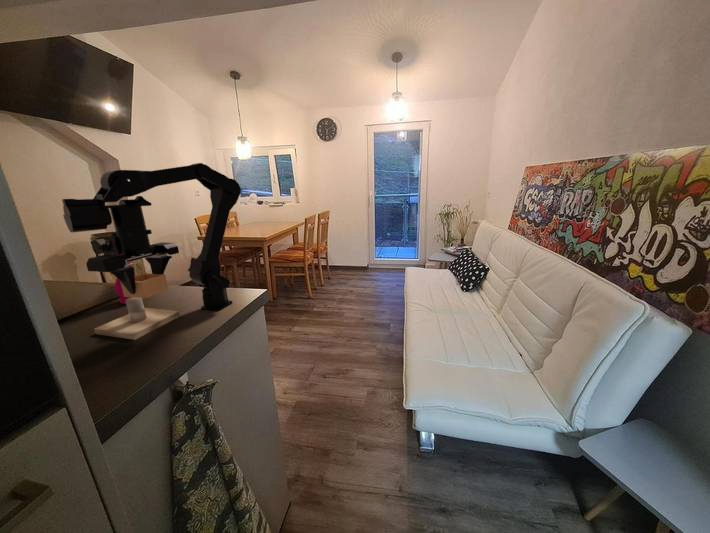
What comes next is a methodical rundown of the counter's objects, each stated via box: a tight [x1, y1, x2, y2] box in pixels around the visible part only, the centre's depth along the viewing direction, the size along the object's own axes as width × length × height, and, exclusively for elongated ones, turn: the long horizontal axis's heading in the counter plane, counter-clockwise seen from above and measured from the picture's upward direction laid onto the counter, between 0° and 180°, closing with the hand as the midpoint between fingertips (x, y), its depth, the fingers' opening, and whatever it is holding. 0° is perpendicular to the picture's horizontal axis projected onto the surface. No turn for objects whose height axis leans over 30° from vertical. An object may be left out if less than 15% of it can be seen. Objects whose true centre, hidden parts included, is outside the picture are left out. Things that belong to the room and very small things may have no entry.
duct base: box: [94, 297, 181, 341], centre depth 74 cm, size 13×13×8 cm
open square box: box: [120, 272, 169, 299], centre depth 69 cm, size 6×6×4 cm
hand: (146, 288), depth 69 cm, fingers closed on open square box, 6 cm apart
